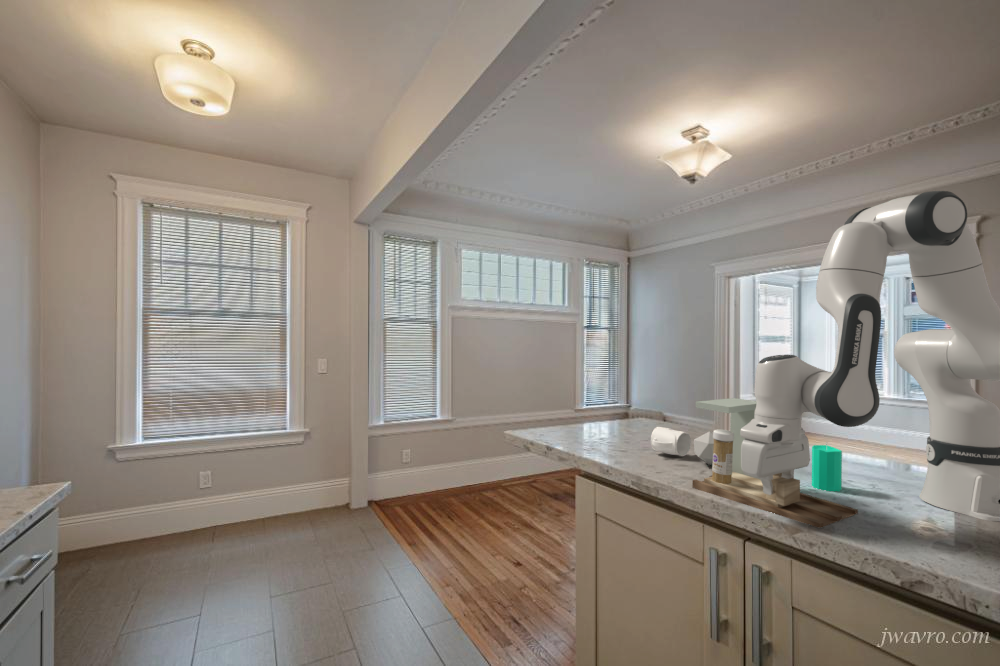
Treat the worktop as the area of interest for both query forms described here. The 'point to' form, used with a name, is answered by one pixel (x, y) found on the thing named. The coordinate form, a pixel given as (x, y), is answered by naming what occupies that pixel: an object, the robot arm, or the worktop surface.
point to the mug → (671, 441)
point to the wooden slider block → (749, 480)
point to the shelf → (733, 421)
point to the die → (705, 447)
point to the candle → (826, 468)
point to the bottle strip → (784, 493)
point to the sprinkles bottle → (722, 456)
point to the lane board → (789, 506)
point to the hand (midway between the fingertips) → (776, 491)
